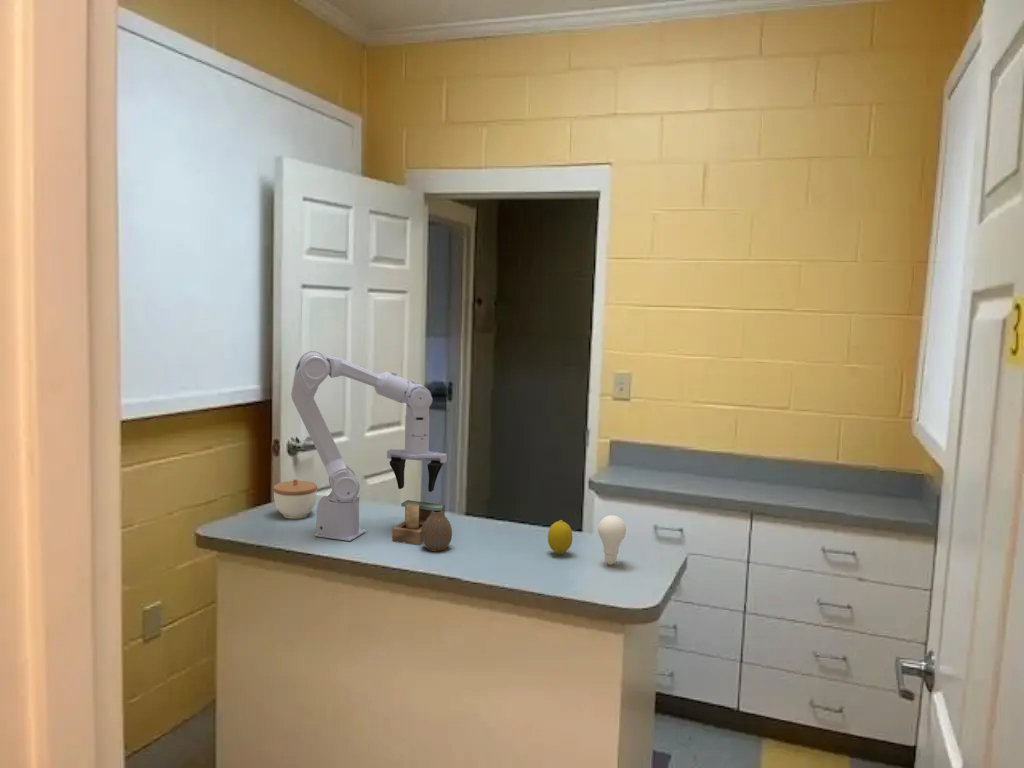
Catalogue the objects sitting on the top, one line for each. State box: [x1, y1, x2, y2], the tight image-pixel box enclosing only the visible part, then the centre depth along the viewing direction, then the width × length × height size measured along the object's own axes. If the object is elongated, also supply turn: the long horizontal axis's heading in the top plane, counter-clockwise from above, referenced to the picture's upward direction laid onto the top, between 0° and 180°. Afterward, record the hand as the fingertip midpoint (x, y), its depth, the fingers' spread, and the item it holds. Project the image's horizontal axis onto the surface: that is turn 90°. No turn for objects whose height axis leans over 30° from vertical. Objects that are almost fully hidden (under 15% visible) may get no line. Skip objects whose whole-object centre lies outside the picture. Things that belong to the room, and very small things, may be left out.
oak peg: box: [406, 504, 419, 530], centre depth 182 cm, size 3×3×8 cm
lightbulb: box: [597, 515, 627, 566], centre depth 169 cm, size 6×6×11 cm
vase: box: [422, 510, 453, 552], centre depth 176 cm, size 7×7×9 cm
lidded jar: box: [273, 478, 318, 520], centre depth 197 cm, size 11×11×9 cm
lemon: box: [547, 519, 573, 556], centre depth 174 cm, size 6×6×8 cm
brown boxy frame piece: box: [391, 499, 446, 546], centre depth 184 cm, size 10×11×7 cm
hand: (416, 489), depth 188 cm, fingers open, 7 cm apart
